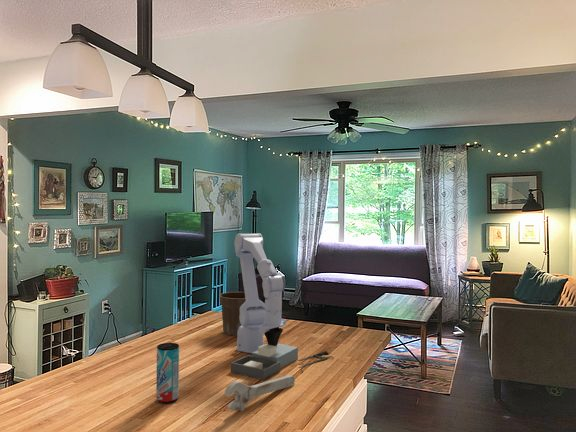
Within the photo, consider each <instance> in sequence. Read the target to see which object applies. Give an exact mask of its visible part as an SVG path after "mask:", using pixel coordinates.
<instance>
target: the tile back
mask: <svg viewBox="0 0 576 432" xmlns="http://www.w3.org/2000/svg"><path fill="white" fill-rule="evenodd" d="M274 354H276V346H273V345H268V343H265V344H264V343H263V345H262V346H260V347H258V355H262V356H267V357H270V356H272V355H274Z"/></svg>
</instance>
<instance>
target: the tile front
mask: <svg viewBox="0 0 576 432" xmlns="http://www.w3.org/2000/svg"><path fill="white" fill-rule="evenodd" d="M243 365H246V366H250V367H255V368H259V369H262V368H263V363H260V362H255V361H249V362H247V363H245V364H243Z"/></svg>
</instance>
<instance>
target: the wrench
mask: <svg viewBox="0 0 576 432" xmlns="http://www.w3.org/2000/svg"><path fill="white" fill-rule="evenodd" d="M295 382H296V378H295V376H294V375H291V374H288V375H284V376H280V377H277V378H273V379H270V380H267V381H264V382H261V383H256V384H253V385H247V384H245V383H243V382H241V381H238V380H233V381H231V382H230V383H229V384H228V385H227V386H226V387H225V390H224V396H226V397H230V396H232V395H233V394H234V395H235V396H234V400H232V401H231V402H229V403H228V404H227V409H229V410H230V411H231V410H232V411H240V412H244V409H246V406H247V405H248V404H249V402H250V401H251V400H253V399H254V398H256V397H260V396H262V395H266V394H269V393H273V392H276V391H280V390H282V389H287V388H289V387H291V386H294V384H295Z"/></svg>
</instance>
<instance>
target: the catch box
mask: <svg viewBox="0 0 576 432" xmlns="http://www.w3.org/2000/svg"><path fill="white" fill-rule="evenodd" d="M249 361H255V362H260V363H263V368H262V369H259V368H255V367H250V366H246V365H243V364H245V363H247V362H249ZM279 372H281V368H280V362H278V361H273V360H269V359H264V358H259V357H255V356H252V355H250V354H247V355H245V356H243V357H239V358H238V359H236V360H234V361H232V362H230V373H234V374H237V375H241V376H246V377H249V378H254V379H258V380H262V381H265V380H266V379H268V378H271V377H272V376H275V375H276V374H278V373H279Z"/></svg>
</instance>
